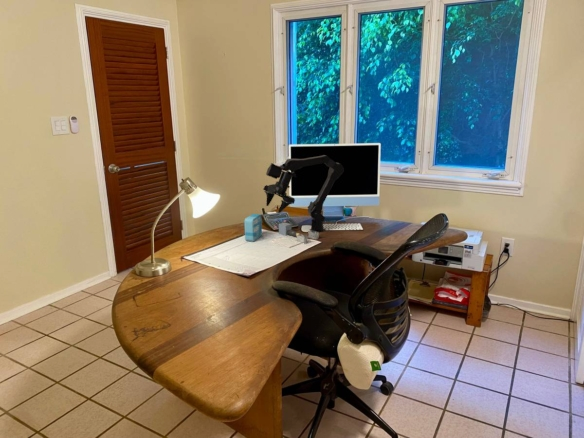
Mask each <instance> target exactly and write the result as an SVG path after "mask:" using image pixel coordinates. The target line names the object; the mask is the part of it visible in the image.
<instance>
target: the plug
mask: <svg viewBox="0 0 584 438" xmlns="http://www.w3.org/2000/svg"><path fill="white" fill-rule="evenodd" d="M278 234H279V235H282V236H285V237H286V236H291V237H294V238H297V235H299V234H301V233H299V231H296V230H292V223H289V222H281V223H279V224H278Z"/></svg>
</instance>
